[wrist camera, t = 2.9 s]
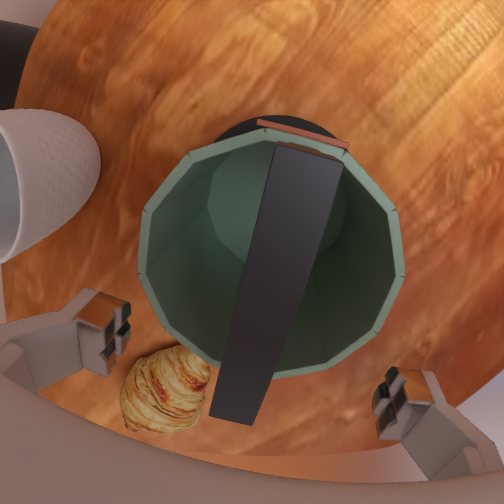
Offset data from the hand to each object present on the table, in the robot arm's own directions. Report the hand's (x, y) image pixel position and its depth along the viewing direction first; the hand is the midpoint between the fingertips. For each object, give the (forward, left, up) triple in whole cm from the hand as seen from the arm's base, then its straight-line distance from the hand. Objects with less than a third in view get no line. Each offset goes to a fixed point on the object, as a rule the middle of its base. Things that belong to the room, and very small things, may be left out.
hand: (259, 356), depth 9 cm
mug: (-21, -1, -20) cm, 29 cm away
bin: (0, 0, -19) cm, 19 cm away
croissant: (-7, -25, -20) cm, 33 cm away
